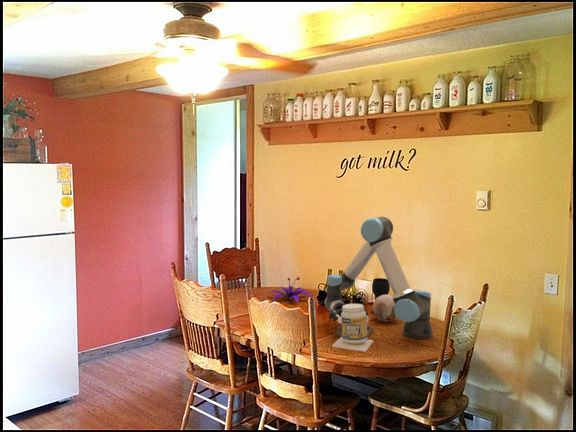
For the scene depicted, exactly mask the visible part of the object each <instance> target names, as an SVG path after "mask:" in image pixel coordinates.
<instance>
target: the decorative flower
mask: <svg viewBox="0 0 576 432" xmlns="http://www.w3.org/2000/svg"><path fill="white" fill-rule="evenodd" d="M287 281H289V283H288V287H283V286H279V288H280V290H270V292H268V294H270V293H277V294H274V296H273V297H272V301H273V300H276V299H277V298H279V297H283V296H284V297H285V298H287V299H289V298H293V300H295V302H297V303H298V302H299V299H300V297H299V295H307V296H308V297H310V298H311V297H313V296H312V295H311V294H310V292H309V291H308V290H307V289H302V288H303V287H302V286H300V287H297V288H296V289H294V286H293V285H294V283H295V282H296V281H300V277H299V276H297V277H296V279H295V280H294V281H293V283H292V285H291V278H290V277H288V278H287ZM268 294H267V295H268Z"/></svg>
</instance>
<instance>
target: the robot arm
mask: <svg viewBox="0 0 576 432" xmlns="http://www.w3.org/2000/svg"><path fill="white" fill-rule="evenodd" d="M393 231H394V224H393V222H392V221H391V220H390V218H388V217H386V216H379V217H375V216H374V217H369V218H368V219H366V220H364V221H363V222H362V224H361V227H360V234H361V237H362V238H363V240H364V241H365V242H364V244H363V245H362V246H361V248H360V249H359V250H358V252H357V253H356V254H355V256H354V257H353V259H352V260H351V262H350V263H349V264H348V266H347V267H346V268H345V270H344V271H343V273H341V275H340V274H329V275H328V276H327V282H326V285H327V287H326V297H325V299H324V306H325V307H326V309H327V310H328V311H329V314H328V319H329V320H332V321H333V322H336V321H337V322H338V324H341V325H342V318H341V313H342V312H343V310H342V306H343V305H347V304H346V303H345V302H343V300H342V291H344V290H348V289H351V288H352V287H353V286H354V285H355V282H356V280H357V278H358V277H359V275H360V274H361V273H362V272H363V270H364V269H365V267H366V266H367V265H368V263H369V262H370V260H372V258H373V256H374V255H375V254H376V256H377V259H378V260H379V263H380V265H381V268H382V270H383V272H384V275H385V277H386V279H388V282H389V284H390V290H391V291H392V293H393V295H392V296H393V298H392V299H393V301H394V304H395V306H394V312H395V315H396V316H397V318H396V319H398V320H399V321H401V322H403V323H404V325H403V327H402V335H404V336H405V337H407V338H411V339H416V340H425V339H426V340H427V339H431V338H432V337H433V336H434V332H433V331H434V330H433V328H432V324H431V307H432V306H431V304H432V303H431V301H432V294H431V292H430V291H427V290H421V289H414V288H412V287H410V283H409V282H408V280H407V277H406V275H405V272H404V270H403V268H402V266H401V263H400V261H399V259H398V257H397V254H396V252H395V250H394V248H393V245H392V240H393V238H392V234H393ZM365 312H366V321H367V323H369V317H370V316H369V312H368V311H365Z"/></svg>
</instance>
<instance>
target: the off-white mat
mask: <svg viewBox="0 0 576 432" xmlns="http://www.w3.org/2000/svg"><path fill="white" fill-rule="evenodd" d="M373 343H374V340H373V339H367V340H366V341H365V342H362V343H346V342H344V341H343V338H342V336H341V337H338V338H337V340H336V341H335V342H334V343H333V344H332V345H331V347H332V348H337V349H342V350H351V351H357V352H364V353H367V351H368V350H369V348H370V347H371V346H372V344H373Z"/></svg>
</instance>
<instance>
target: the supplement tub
mask: <svg viewBox="0 0 576 432" xmlns="http://www.w3.org/2000/svg"><path fill="white" fill-rule="evenodd" d="M342 310H343V312H342V313H341V318H342V324H341V325H342V338H343V341H344V342H346V343H362V342H365V341H366V340H368V338H367V326H368V325H367V323H368V322H367V321H366V312H367V311H365V307H364V304H362V303H347V304H346V305H343V306H342Z"/></svg>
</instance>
